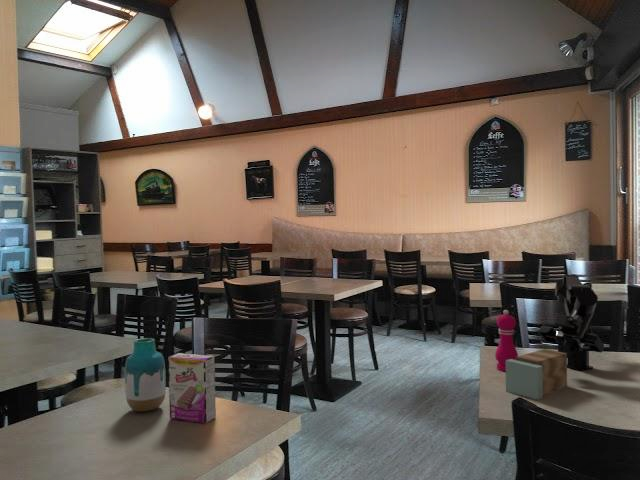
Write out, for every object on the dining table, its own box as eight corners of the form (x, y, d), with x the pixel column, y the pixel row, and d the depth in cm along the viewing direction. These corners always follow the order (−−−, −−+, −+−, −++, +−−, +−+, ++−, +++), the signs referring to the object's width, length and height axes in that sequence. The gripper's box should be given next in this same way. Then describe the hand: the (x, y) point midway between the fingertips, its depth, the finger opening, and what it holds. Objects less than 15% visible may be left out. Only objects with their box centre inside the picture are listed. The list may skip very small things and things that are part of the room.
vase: (174, 405, 144) (172, 337, 143) (147, 419, 134) (145, 345, 133) (145, 401, 148) (143, 334, 148) (116, 413, 138) (114, 342, 138)
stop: (511, 389, 152) (510, 358, 152) (542, 398, 144) (542, 366, 143) (505, 391, 150) (505, 360, 150) (537, 400, 142) (537, 367, 142)
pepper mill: (520, 372, 168) (519, 311, 168) (496, 372, 170) (496, 311, 169) (516, 366, 175) (515, 308, 175) (493, 366, 177) (493, 308, 176)
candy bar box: (168, 420, 133) (166, 356, 132) (180, 413, 138) (178, 352, 137) (206, 424, 129) (204, 359, 129) (216, 417, 134) (215, 354, 134)
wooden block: (545, 381, 159) (544, 349, 159) (567, 386, 154) (566, 353, 153) (515, 390, 151) (515, 356, 151) (538, 397, 145) (537, 361, 145)
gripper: (541, 301, 168) (520, 339, 162) (598, 308, 153) (578, 351, 147) (555, 322, 173) (536, 360, 167) (612, 331, 157) (593, 373, 152)
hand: (559, 360), depth 158 cm, fingers closed
